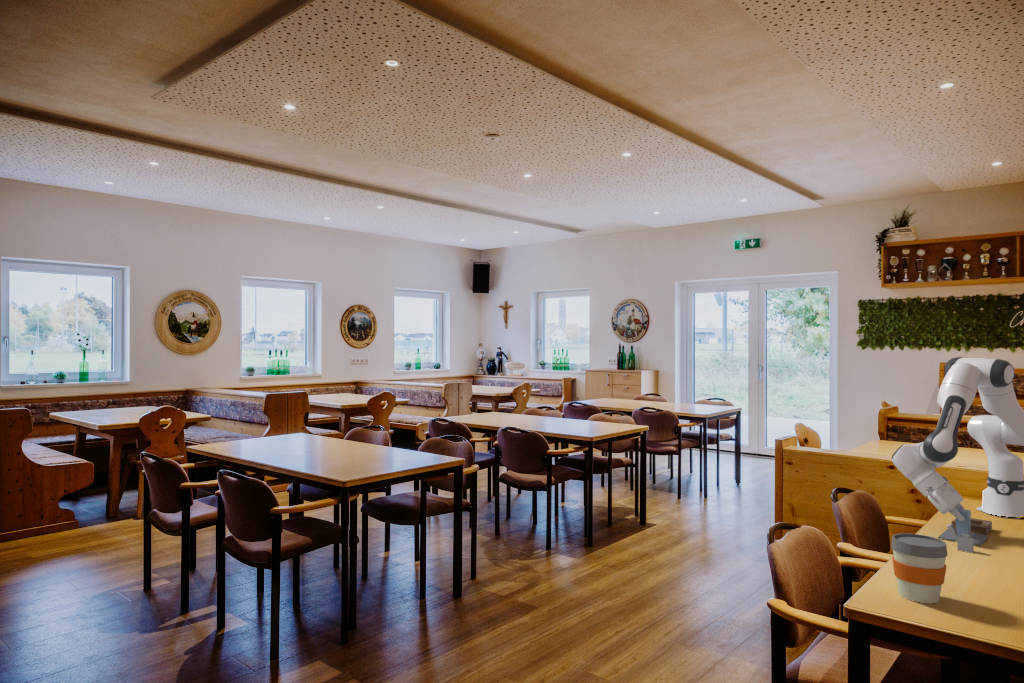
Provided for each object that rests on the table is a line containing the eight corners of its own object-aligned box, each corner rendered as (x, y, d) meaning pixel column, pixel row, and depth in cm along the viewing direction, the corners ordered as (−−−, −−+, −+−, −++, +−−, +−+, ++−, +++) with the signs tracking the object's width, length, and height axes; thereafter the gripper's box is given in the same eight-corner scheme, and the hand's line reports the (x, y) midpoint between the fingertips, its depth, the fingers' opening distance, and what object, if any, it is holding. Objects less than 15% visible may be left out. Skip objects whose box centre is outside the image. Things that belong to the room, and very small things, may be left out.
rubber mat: (947, 530, 230) (947, 528, 230) (988, 537, 221) (988, 536, 221) (938, 538, 220) (938, 536, 220) (980, 546, 211) (980, 544, 211)
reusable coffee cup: (895, 584, 176) (895, 530, 176) (950, 596, 168) (950, 539, 168) (887, 598, 166) (887, 540, 167) (944, 611, 158) (944, 550, 159)
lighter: (973, 551, 205) (973, 527, 206) (972, 553, 204) (972, 528, 204) (947, 546, 210) (947, 522, 211) (946, 548, 209) (946, 523, 209)
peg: (958, 534, 223) (958, 508, 223) (970, 536, 220) (970, 510, 220) (955, 536, 220) (956, 510, 220) (968, 538, 218) (968, 512, 218)
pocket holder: (958, 524, 238) (958, 516, 238) (991, 529, 231) (991, 521, 231) (951, 530, 230) (951, 522, 230) (985, 536, 223) (985, 527, 223)
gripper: (932, 484, 218) (967, 518, 211) (946, 476, 233) (979, 508, 226) (917, 495, 221) (951, 529, 214) (931, 486, 236) (963, 518, 229)
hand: (965, 518), depth 220 cm, fingers open, 5 cm apart
